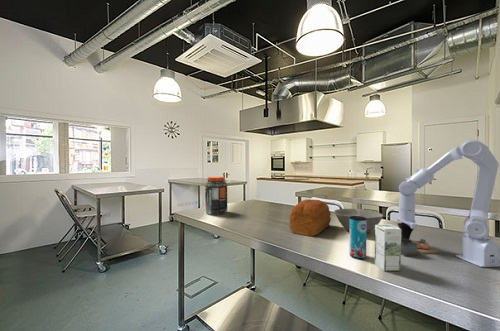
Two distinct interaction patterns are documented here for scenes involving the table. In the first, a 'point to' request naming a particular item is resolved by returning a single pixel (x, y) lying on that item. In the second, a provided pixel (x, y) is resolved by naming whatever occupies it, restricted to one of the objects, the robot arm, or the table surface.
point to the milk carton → (388, 247)
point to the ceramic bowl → (371, 216)
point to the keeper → (408, 247)
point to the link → (422, 244)
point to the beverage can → (358, 237)
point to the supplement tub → (216, 196)
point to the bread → (309, 217)
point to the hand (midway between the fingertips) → (405, 240)
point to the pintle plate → (426, 251)
